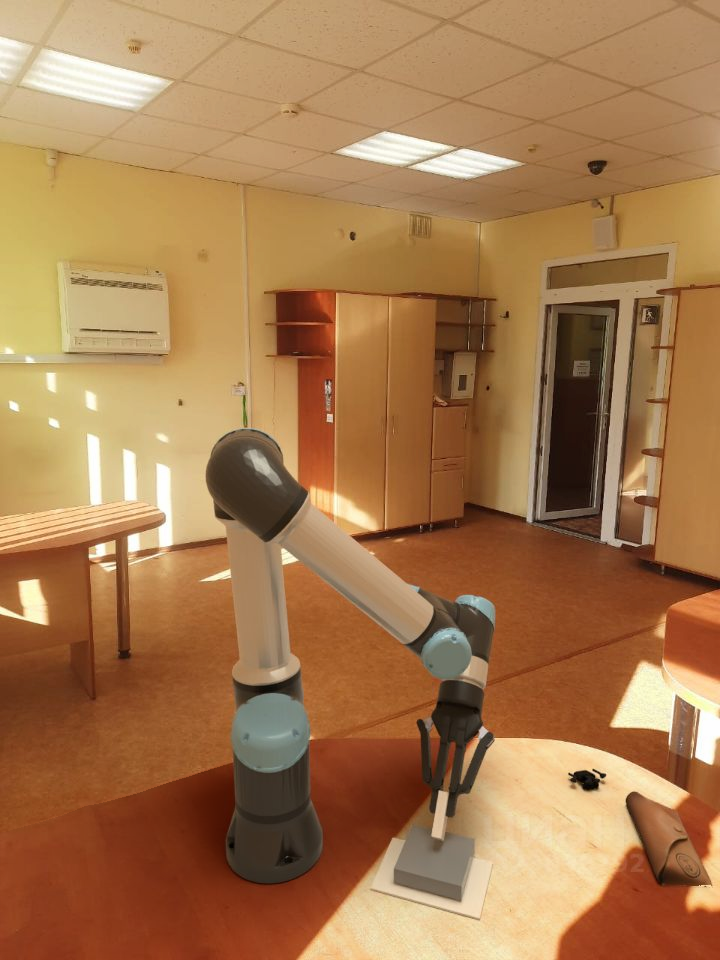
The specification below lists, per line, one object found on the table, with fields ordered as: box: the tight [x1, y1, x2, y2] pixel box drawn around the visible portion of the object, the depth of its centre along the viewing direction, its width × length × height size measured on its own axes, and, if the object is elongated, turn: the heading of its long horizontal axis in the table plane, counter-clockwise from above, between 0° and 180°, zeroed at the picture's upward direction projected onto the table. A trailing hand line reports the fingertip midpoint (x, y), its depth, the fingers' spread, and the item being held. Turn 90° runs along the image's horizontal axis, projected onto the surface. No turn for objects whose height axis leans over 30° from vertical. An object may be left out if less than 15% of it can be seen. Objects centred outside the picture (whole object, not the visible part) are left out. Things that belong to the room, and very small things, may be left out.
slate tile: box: [394, 823, 476, 901], centre depth 103 cm, size 10×3×10 cm
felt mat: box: [369, 837, 494, 921], centre depth 102 cm, size 16×11×1 cm
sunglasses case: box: [625, 790, 713, 887], centre depth 109 cm, size 18×7×7 cm
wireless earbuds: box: [567, 768, 607, 791], centre depth 123 cm, size 7×2×5 cm
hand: (437, 838), depth 104 cm, fingers closed
